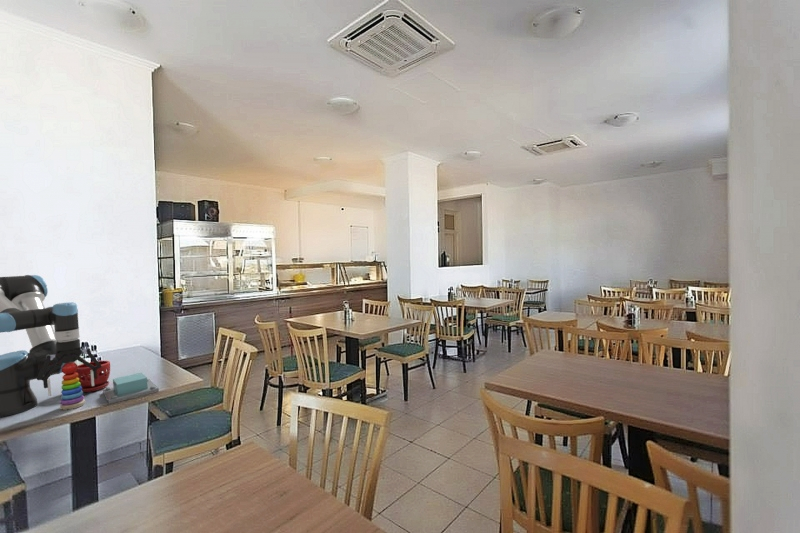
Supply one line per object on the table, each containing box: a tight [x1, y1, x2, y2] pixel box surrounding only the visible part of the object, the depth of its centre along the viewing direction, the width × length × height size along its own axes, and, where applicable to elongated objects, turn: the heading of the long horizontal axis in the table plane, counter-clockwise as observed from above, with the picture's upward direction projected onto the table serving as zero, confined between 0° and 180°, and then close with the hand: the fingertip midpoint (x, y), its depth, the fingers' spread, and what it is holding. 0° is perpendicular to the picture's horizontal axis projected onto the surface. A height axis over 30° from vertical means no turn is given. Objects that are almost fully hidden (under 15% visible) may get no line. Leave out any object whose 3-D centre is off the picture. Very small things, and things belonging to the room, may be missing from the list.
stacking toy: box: [59, 362, 86, 411], centre depth 156 cm, size 8×8×19 cm
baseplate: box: [102, 372, 160, 405], centre depth 170 cm, size 18×18×6 cm
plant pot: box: [75, 360, 111, 393], centre depth 177 cm, size 13×13×12 cm
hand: (72, 390), depth 156 cm, fingers open, 13 cm apart
